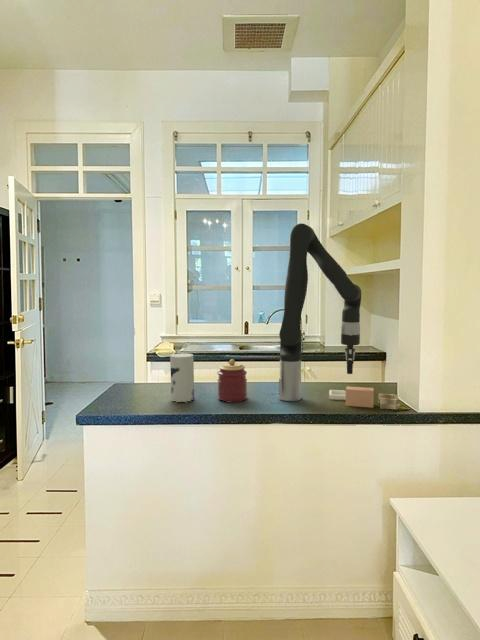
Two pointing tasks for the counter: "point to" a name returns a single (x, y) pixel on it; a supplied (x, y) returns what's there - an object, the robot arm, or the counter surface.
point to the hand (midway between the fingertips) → (349, 371)
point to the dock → (388, 401)
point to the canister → (232, 382)
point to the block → (359, 396)
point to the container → (182, 377)
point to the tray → (337, 395)
